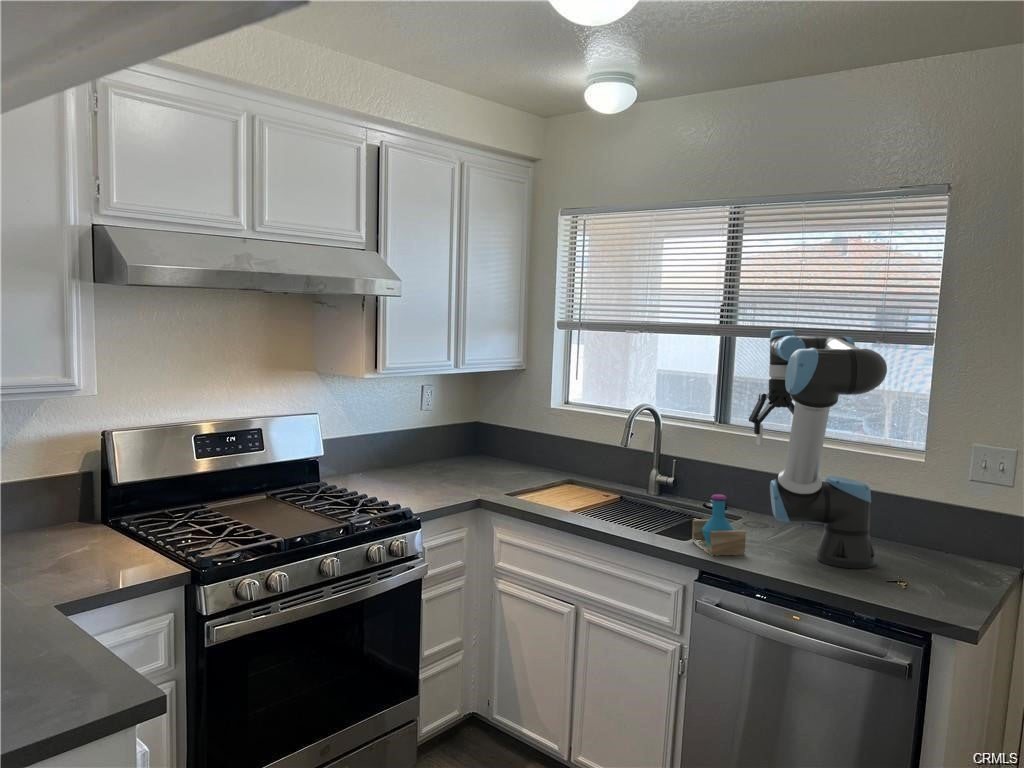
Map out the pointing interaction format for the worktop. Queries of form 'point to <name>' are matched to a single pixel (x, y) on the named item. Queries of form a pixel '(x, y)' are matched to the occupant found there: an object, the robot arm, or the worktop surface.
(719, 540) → the holder
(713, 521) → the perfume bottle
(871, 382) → the robot arm
